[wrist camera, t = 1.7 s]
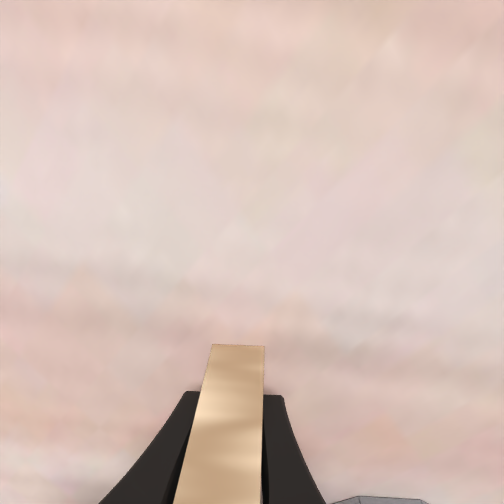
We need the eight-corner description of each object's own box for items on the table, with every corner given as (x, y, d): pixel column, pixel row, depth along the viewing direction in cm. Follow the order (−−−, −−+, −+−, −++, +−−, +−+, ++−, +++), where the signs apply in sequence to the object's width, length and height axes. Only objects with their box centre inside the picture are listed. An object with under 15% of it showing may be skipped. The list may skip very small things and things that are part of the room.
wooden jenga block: (264, 346, 14) (258, 564, 7) (262, 405, 15) (255, 641, 8) (212, 344, 14) (159, 558, 7) (214, 403, 15) (170, 634, 8)
